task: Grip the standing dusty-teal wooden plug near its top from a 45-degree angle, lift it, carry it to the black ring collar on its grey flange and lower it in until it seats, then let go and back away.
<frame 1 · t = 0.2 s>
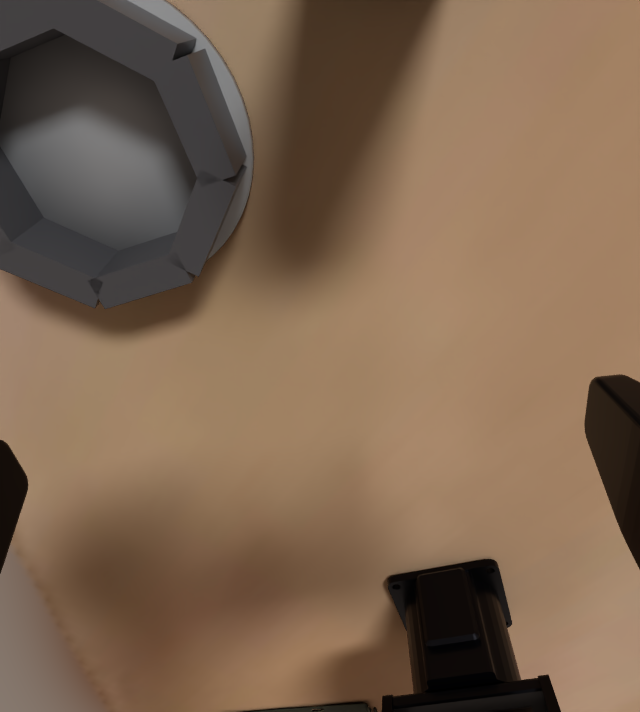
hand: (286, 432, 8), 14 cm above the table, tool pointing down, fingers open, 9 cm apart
collar: (109, 146, 20), on the table
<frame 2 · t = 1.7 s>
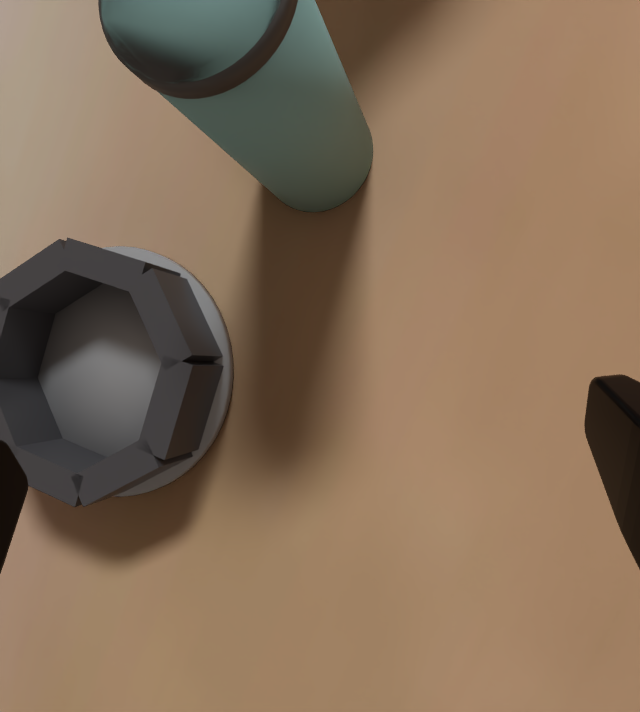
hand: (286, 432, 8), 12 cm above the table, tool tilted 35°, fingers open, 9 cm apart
collar: (120, 370, 23), on the table
plug: (316, 155, 21), on the table
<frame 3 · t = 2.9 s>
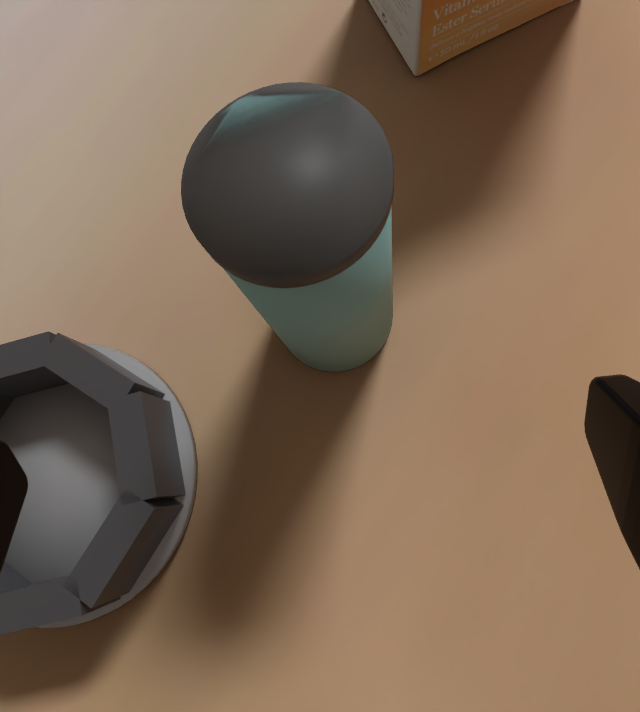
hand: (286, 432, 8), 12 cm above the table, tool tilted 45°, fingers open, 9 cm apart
collar: (67, 477, 21), on the table
plug: (334, 315, 21), on the table
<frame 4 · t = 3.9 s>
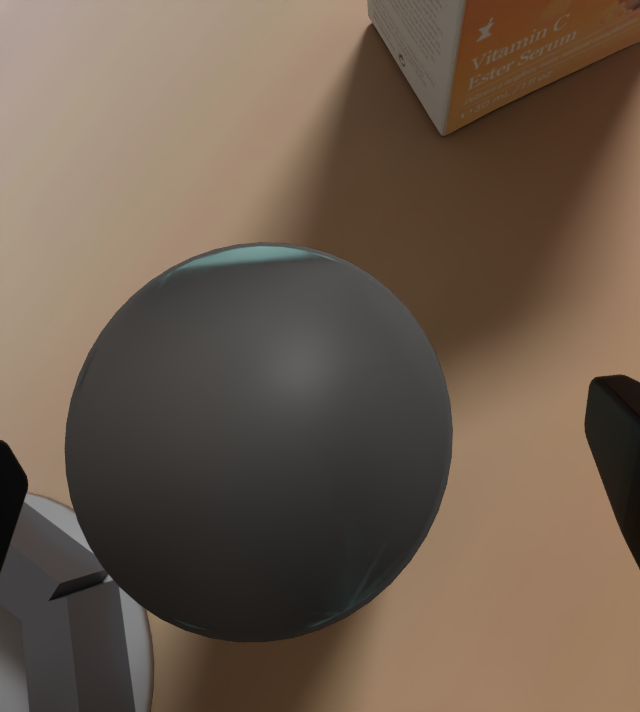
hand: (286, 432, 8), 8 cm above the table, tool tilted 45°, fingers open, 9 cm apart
small box: (507, 31, 19), on the table
plug: (338, 460, 16), on the table
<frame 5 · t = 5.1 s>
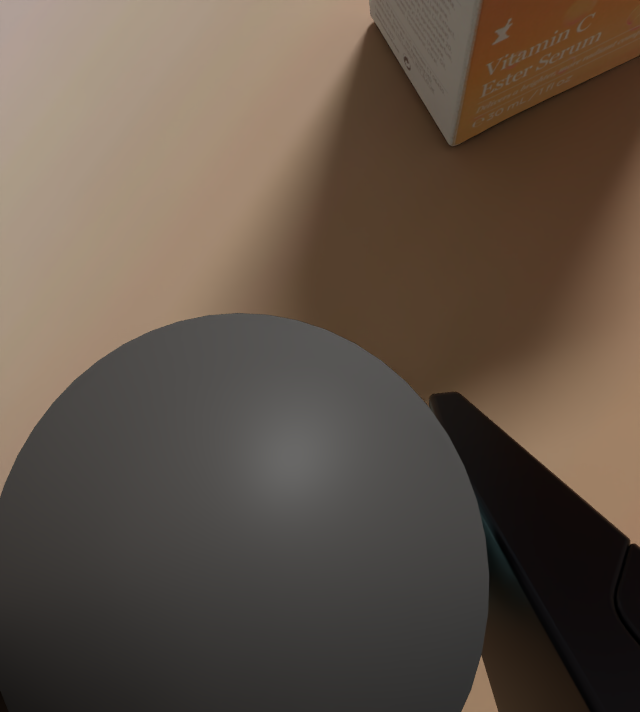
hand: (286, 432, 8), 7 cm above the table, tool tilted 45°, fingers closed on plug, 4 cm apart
small box: (522, 31, 17), on the table
plug: (337, 504, 14), on the table, touching gripper
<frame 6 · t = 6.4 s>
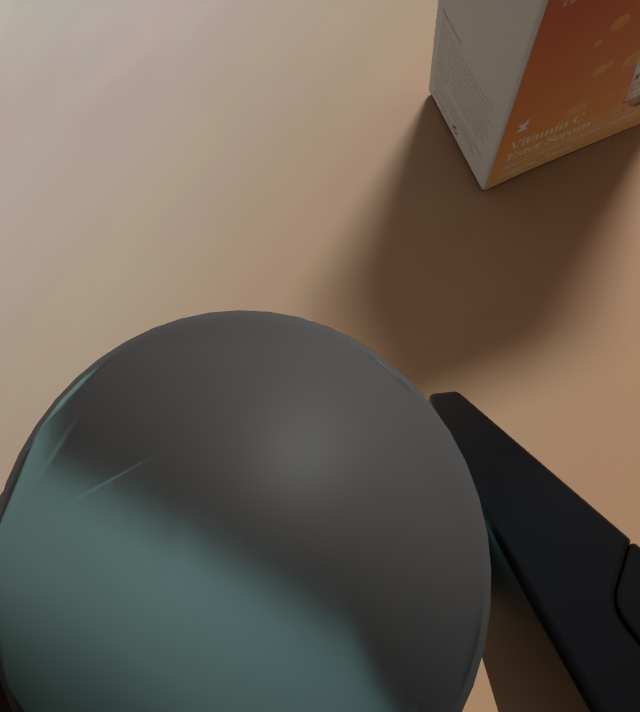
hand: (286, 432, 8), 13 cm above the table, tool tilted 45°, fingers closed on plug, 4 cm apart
small box: (538, 107, 24), on the table
plug: (338, 503, 14), point 7 cm above the table, touching gripper
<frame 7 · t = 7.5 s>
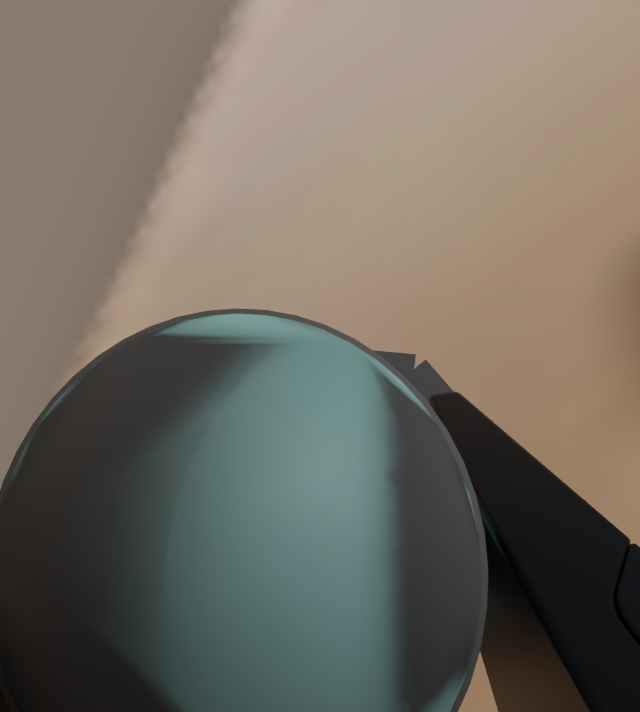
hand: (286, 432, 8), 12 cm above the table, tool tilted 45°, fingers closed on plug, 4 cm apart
collar: (352, 492, 20), on the table
plug: (337, 503, 14), point 6 cm above the table, touching gripper
when the fingers open (8 cm above the table, at t = 8.7 s): plug stays where it is, resting on collar.
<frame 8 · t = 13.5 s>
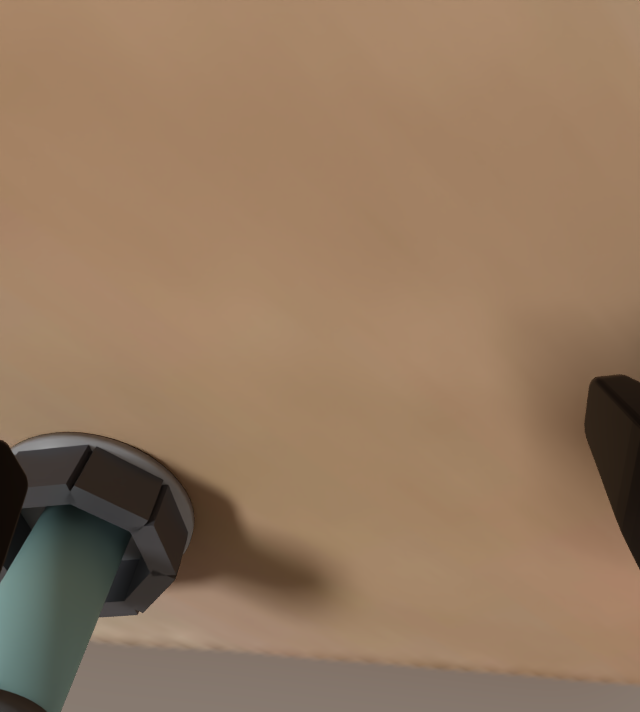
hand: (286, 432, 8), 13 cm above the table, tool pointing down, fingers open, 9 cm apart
collar: (94, 509, 28), on the table
plug: (91, 517, 28), point 1 cm above the table, touching collar
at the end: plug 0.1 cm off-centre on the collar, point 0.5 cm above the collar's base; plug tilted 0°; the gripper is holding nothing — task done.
